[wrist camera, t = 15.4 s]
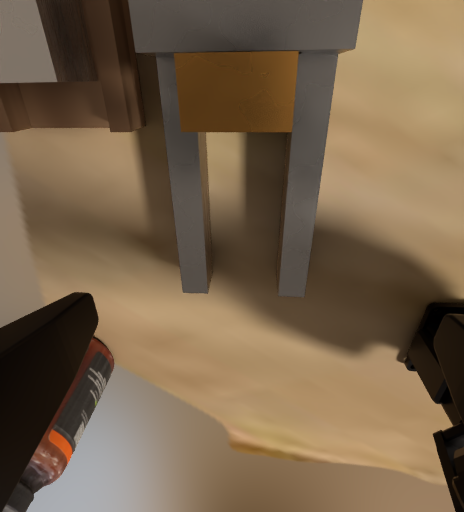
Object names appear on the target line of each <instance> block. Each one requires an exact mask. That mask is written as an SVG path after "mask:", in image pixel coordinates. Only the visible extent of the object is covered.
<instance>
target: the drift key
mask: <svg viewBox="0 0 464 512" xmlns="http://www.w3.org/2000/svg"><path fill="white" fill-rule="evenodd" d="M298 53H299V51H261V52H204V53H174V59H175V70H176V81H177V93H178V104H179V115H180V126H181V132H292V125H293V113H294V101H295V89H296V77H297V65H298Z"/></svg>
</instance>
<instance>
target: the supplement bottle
mask: <svg viewBox="0 0 464 512" xmlns="http://www.w3.org/2000/svg"><path fill="white" fill-rule="evenodd" d="M113 368H114V359H113V356H112V354H111V352H110V351H109V350H108V349H107V347H106V346H104V345H103V344H102V343H101V342H99V341H98V340H96V339H94V338H92V340H91V342H90V345H89V347H88V349H87V352H86V354H85V356H84V359H83V361H82V364H81V366H80V368H79V371H78V373H77V375H76V377H75V379H74V381H73V383H72V385H71V387H70V389H69V390H68V392H67V394H66V396H65V398H64V400H63V401H62V403H61V405H60V407H59V409H58V411H57V412H56V414H55V416H54V418H53V420H52V422H51V423H50V425H49V427H48V429H47V431H46V433H45V434H44V436H43V438H42V440H41V442H40V444H39V445H38V447H37V449H36V451H35V453H34V455H33V456H32V458H31V460H30V462H29V464H28V466H27V467H26V469H25V471H24V473H23V475H22V477H21V478H20V480H19V482H18V484H17V486H16V488H15V489H14V491H13V493H12V495H11V497H10V499H9V500H8V502H7V504H6V506H5V508H4V510H3V512H26V510H27V508H28V507H29V505H30V503H31V502H32V501H33V499H34V493H35V492H37V491H38V490H39V489H41V488H42V487H44V486H46V485H49V484H51V483H53V482H54V481H55V480H57V479H58V478H59V477H60V476H61V475H62V473H63V471H64V470H65V468H66V466H67V464H68V462H69V460H70V458H71V455H72V454H73V452H74V451H75V448H76V446H77V444H78V442H79V440H80V438H81V436H82V434H83V432H84V430H85V428H86V425H87V423H88V421H89V419H90V417H91V415H92V413H93V411H94V409H95V407H96V405H97V403H98V401H99V399H100V397H101V394H102V392H103V390H104V389H105V386H106V384H107V382H108V380H109V378H110V376H111V373H112V371H113Z"/></svg>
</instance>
